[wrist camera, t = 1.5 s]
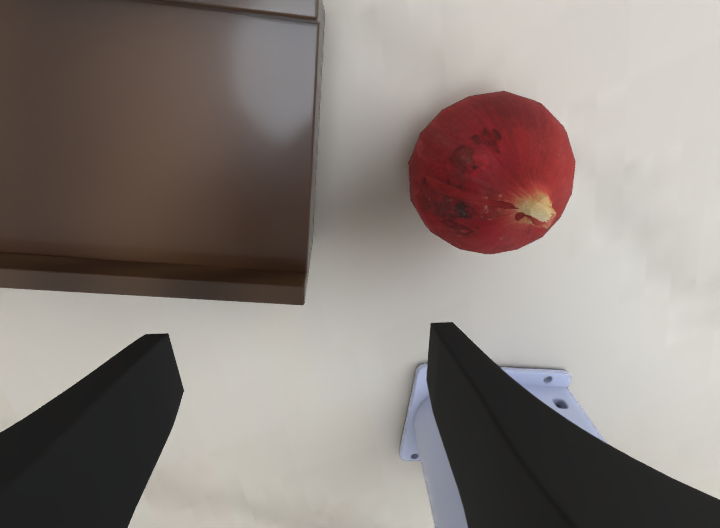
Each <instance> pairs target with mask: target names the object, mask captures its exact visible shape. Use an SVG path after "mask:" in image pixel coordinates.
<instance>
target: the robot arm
mask: <svg viewBox="0 0 720 528" xmlns="http://www.w3.org/2000/svg"><path fill="white" fill-rule="evenodd" d="M546 377H547V378H546ZM570 381H571V376H570V374H569V373H568V372H567V371H565V370H550V369H528V368H507V367H499V366H498V365H497V364H496V363H495V362H493V361H492V360H491V359H490V358H489V357H488V356H487V355H486V354H485V353H484V352H483V351H482V350H481V349H480V348H478V347H477V346H476V345H475V344H474V343H473V342H472V341H471V340H470V339H469V338H468V337H467V336H466V335H465V334H464V333H463V332H462V331H461V330H460V329H459V328H458V327H457V326H456V325H455V324H454V323H453V322H446V323H431V327H430V339H429V352H428V364H422V365H420V366H419V367H418V368H417V370H416V374H415V379H414V383H413V388H412V393H411V398H410V402H409V407H408V412H407V417H406V421H405V426H404V431H403V436H402V440H401V445H400V450H399V455H400V458H401V459H402V460H405V461H421V464H422V468H423V473H424V478H425V483H426V487H427V492H428V497H429V501H430V506H431V511H432V516H433V520H434V525H435V528H720V500H719V499H717V498H715V497H712V496H710V495H708V494H706V493H704V492H701V491H699V490H697V489H695V488H692V487H690V486H688V485H686V484H684V483H681V482H679V481H677V480H675V479H673V478H671V477H669V476H667V475H665V474H663V473H661V472H659V471H657V470H655V469H653V468H651V467H649V466H647V465H645V464H643V463H641V462H639V461H638V460H636V459H634V458H632V457H630V456H628V455H626V454H625V453H623V452H621V451H619V450H617V449H616V448H614V447H612V446H610V445H609V444H607V443H606V441H605V440H604V439H603V437H602V436H601V434H600V433H599V432H598V430H597V429H596V427H595V426H594V425H593V423H592V422H591V420H590V419H589V417H588V416H587V415H586V413H585V412H584V410H583V409H582V408H581V406H580V405H579V403H578V402H577V401H576V399H575V398H574V396H573V395H572V394H571V392H570V391H569V389H568V386H569V384H570ZM183 392H184V389H183V385H182V382H181V378H180V375H179V371H178V367H177V364H176V360H175V356H174V353H173V349H172V345H171V342H170V338H169V334H168V333H167V334H145V335H144V336H142V337H140V338H139V339H137V340H136V341H134V342H133V343H132V344H130V345H129V346H127V347H126V348H124V349H123V350H122V351H120V352H119V353H118V354H116V355H115V356H113V357H112V358H111V359H109V360H108V361H107V362H105V363H104V364H102V365H101V366H100V367H98V368H97V369H95V370H94V371H93V372H91V373H90V374H89V375H87V376H86V377H84V378H83V379H82V380H80V381H79V382H77V383H76V384H75V385H73V386H72V387H70V388H69V389H67V390H66V391H64V392H63V393H61V394H60V395H58V396H57V397H55V398H54V399H52V400H51V401H49V402H48V403H46V404H45V405H43V406H42V407H41V408H39V409H38V410H36V411H35V412H33V413H32V414H30V415H28V416H27V417H25V418H24V419H22V420H20V421H19V422H17V423H16V424H14V425H12V426H11V427H9V428H7V429H6V430H4V431H2V432H1V433H0V528H128V525H129V523H130V520H131V518H132V516H133V513H134V511H135V508H136V506H137V504H138V502H139V500H140V497H141V495H142V493H143V491H144V489H145V487H146V484H147V482H148V480H149V478H150V476H151V474H152V471H153V469H154V467H155V465H156V463H157V461H158V458H159V456H160V454H161V452H162V450H163V447H164V445H165V443H166V441H167V439H168V436H169V434H170V432H171V429H172V427H173V425H174V422H175V419H176V415H177V412H178V409H179V406H180V402H181V399H182V395H183Z"/></svg>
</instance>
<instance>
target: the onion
mask: <svg viewBox="0 0 720 528" xmlns="http://www.w3.org/2000/svg"><path fill="white" fill-rule="evenodd" d="M408 164H409V183H410V197H411V202H412V203H413V205H414V207H415V208H416V210H417V212H418V214H419V215H420V217H421V219H422V220H423V222H424V224H425V225H426V227H427V228H428V229H429V230H430V231H431V232H432V233H434V234H435V235H437V236H438V237H440V238H442V239H443V240H445V241H446V242H448V243H450V244H451V245H453V246H455V247H457V248H459V249H462V250H467V251H472V252H478V253H483V254H495V253H501V252H506V251H511V250H516V249H519V248H521V247H523V246H525V245H527V244H529V243H531V242H533V241H535V240H537V239H539V238H541V237H543V236H544V235H545V233H546V232H547V231H548V230H549V229H550V228H551V227H552V226H553V225H554V224H555V223H556V221H557V220H558V219H559V218H560V217H561V215H562V213H563V211H564V209H565V207H566V205H567V202H568V200H569V198H570V196H571V194H572V188H573V179H574V171H575V158H574V155H573V152H572V148H571V145H570V142H569V139H568V135H567V132H566V131H565V129H564V127H563V125H562V124H561V123H560V122H559V121H558V120H557V119H556V118H555V117H554V116H553V115H552V114H551V113H550V112H549V111H548V110H547V109H546V108H545V107H544V106H543V105H542V104H541V103H539V102H536V101H534V100H531V99H528V98H525V97H521V96H518V95H515V94H512V93H509V92H505V91H501V92H494V93H487V94H480V95H474V96H469V97H467V98H465V99H463V100H461V101H459V102H457V103H455V104H453V105H451V106H449V107H447V108H445V109H443V110H442V111H441V112H440V113H439V114H438V115H437V116H436V117H435V118H434V119H433V120H432V121H431V122H430V123H429V125H428V126H427V127H426V128H425V129H424V130H423V131H422V132H421V133H420V136H419V138H418V141H417V143H416V145H415V148H414V150H413V153H412V155H411V157H410V160H409V162H408Z"/></svg>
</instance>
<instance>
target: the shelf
mask: <svg viewBox="0 0 720 528" xmlns="http://www.w3.org/2000/svg"><path fill="white" fill-rule="evenodd" d="M324 21H325V11H324V6H323V2H322V0H0V288H16V289H33V290H50V291H67V292H84V293H102V294H119V295H136V296H153V297H170V298H188V299H205V300H222V301H239V302H256V303H274V304H291V305H304V303H305V296H306V287H307V280H308V273H309V265H310V258H311V250H312V241H313V223H314V204H315V186H316V168H317V149H318V131H319V113H320V95H321V76H322V58H323V40H324Z"/></svg>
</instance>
